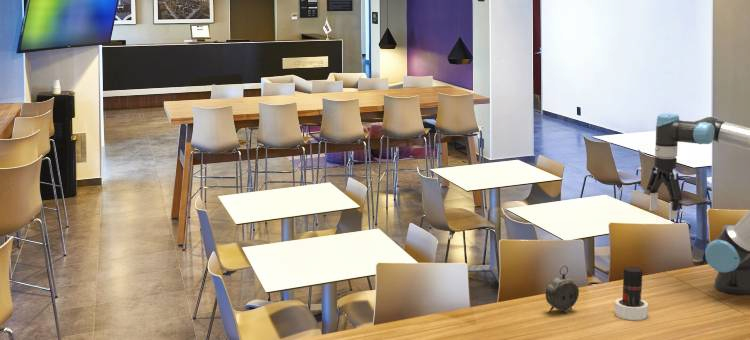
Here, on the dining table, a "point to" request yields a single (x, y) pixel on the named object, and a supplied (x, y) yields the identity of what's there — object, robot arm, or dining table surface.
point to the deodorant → (632, 287)
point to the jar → (631, 310)
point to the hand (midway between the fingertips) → (662, 214)
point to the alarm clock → (562, 292)
